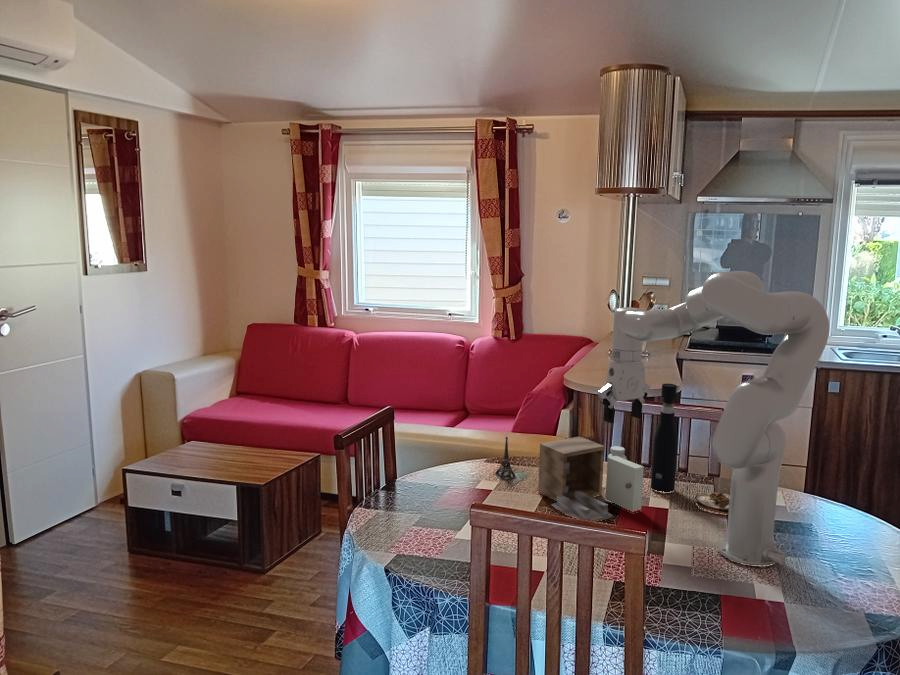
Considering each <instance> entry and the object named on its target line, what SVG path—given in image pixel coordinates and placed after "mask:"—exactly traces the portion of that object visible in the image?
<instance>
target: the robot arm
mask: <svg viewBox="0 0 900 675" xmlns="http://www.w3.org/2000/svg"><path fill="white" fill-rule="evenodd" d="M723 318H725V319H728V320H729V321H731V322H733V323H734V324H737V325H740V326H741V327H743V328H745V329H747V330H749V331H751V332H754V333H756V334H760V335H764V336H765V335H767V336H769V335H770V336H771V335H772V336H773V335H780V334H784V337H783V338H782V340H781V342H779V344H778V345H777V347H776V348H775V349H774V351H773V353H772V354H771V356H770V359H769V362H768V364H767V366H766V368H765V370H764V372H763V373H762V375H760V376H759V377H757V378H752V379H748V380H745V381H743V382H741V383H740V384H739V385H737V386H736V387H735V388H734V389H733V391H732V392H731V394H730V396H729V398H728V400H727V402H726V404H725V407H724V409H723V411H722V414H721V416H720V419H719V422H718V424H717V426H716V428H715V430H714V434H713V437H712V450H713V454H714V456H715V458H716V460H717V462H719V464H720V465H723V466H724V467H725V468H729V469H732V473H731V479H730V480H731V481H730V488H729V489H730V492H729V495H730V501H729V513H728V516H727V526H726V528H727V529H726V539H723V540H721V541H720V542H719V543H718V546H717V549H718V550H719V551H718V552H720V553H721V554H722V555H723V556H725V557H726V558H728V559H730V560H733V561H735V562H739V563H743V564H749V565H762V566H763V565H770V564H774V563H777V564H778V565H780V566H784V565H785V563H786V558H787V556H788V553H787V552H784V551H782V550H779V549H778V541H777V540H774V532H775V531H774V529H775V519H776V509H777V508H776V507H777V497H778V490H779V480H780V473H781V472H780V471H781V468H782V464H783V462H784V461H783V460H784V457H785V453H786V448H787V437H786V433H785V431H784V429H783V428H782V426H781V425H780V424H779V423H778V421H782V420H785V419H787V418H789V417H791V416H792V415H794V414H795V412H796V411H797V409H798V407H799V405H800V403H801V401H802V399H803V396H804V393H805V392H806V390H807V387H808V385H809V383H810V380H811V379H812V376H813V374H814V372H815V369H816V367H817V365H818V363H819V361H820V360H821V359H820V358H821V357H822V355H823V353H824V350H825V348H826V346H827V343H828V340H829V337H830V322H829V316H828V313H827V311H826V309H825V307H824V306H823V304H822V303H821V302H820V301H819V300H818V299H817V298H816V297H814V296H813V295H811V294H809V293H808V292H807V293H806V292H802V291H798V290H797V291H796V290H795V291H794V290H793V291H792V290H789V291H778V292H767V291H765V287H764V283H763V281H762V279H761V278H760V277H759V276H758V275H756V273H753V272H752V271H751V272H750V271H745V270H736V271H734V270H733V271H728V270H727V271H720V272H715V273H714V274H711V276H709V277H708V278H707V279H706V280H705V281H704V283H703V284H702V285H701V286H699V287H697V288H694V289H692V290H690V291H689V292H688V293H687V295H686V297H685V302H683V303H680V304H678V305H675V306H673V307H670V308H667V309H663V308H662V309H653V310H642V309H640V308H639V307H638V308H637V307H618V308H616V309H615V310H614V313H613V322H612V323H613V327H612V342H611V343H612V347H611V352H610V353H609V357H610V358H611V360H610V361H609V363H608V368H607V372H606V373H607V374H606V380H605V381H606V382H605V385H604V386H603V387H602V388H601V389H600V390H598V391H597V396H598V398H599V402H600V403H601V405H602V406H603V407H604V408H603V421H604V422H607V423H609V424H614V423H615V410H616V408H614V406H615V404H616V403H617V402H624V401H632V400H633V401H632V402H631V413H630V415H631V416H630V417H632V418H637V419H640V420H641V419H642V417H643V416H642V414H643V404H645V402H646V401H645V400H646V398H647V397H648V393H649V392H650V389H651V386H650V385H649V384H648V383H646V371H645V364H644V360H642V353H643V349H642V348H643V342H654V341H661V340H669V339H670V340H671V339H674V338H679V337H680V336H684V335H686V334H689V333H692V332H694V331H697V330H699V329H702V328H703V327H705V326H706V325H707V324H710V323H713V322H715V321H719V320H721V319H723ZM720 553H719V554H720ZM721 554H720V555H721ZM722 555H721V556H722ZM723 556H722V557H723ZM725 557H724V558H725ZM726 558H725V559H726ZM728 559H727V560H728ZM730 560H729V561H730Z"/></svg>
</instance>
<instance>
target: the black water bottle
mask: <svg viewBox="0 0 900 675" xmlns="http://www.w3.org/2000/svg"><path fill="white" fill-rule="evenodd" d="M677 387H678V386H677V384H675V383H674V384H673V383H662V385H661V394H660V395H661V397H662V398H663V400H662V401H663V402H662V403H663V404H662V406H661V409H660V410H661V411H660V412H659V413H660V414H659V422H658V425H657V427H656V429H655V433H654V436H653V445H652V446H653V448H652V459H651V460H652V461H651V462H652V463H651V474H650V475H651V476H650V489H651V488H652V489H654V490H657V491H662V492H663V491H664V492H670V491H673V490H674V491H675V488H676V486H675V485H676V471H677V458H678V456H677V455H678V444H679V441H678V434H677V428H676V425H675V412H674V409H675V407H674V406H675V405H674V399H675V398H677Z"/></svg>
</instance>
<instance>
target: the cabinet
mask: <svg viewBox="0 0 900 675" xmlns="http://www.w3.org/2000/svg"><path fill="white" fill-rule="evenodd" d="M604 459H605V445H604V444H603V445H602V444H601V443H597V442H595V441H593V440H590V439H588V438H584V437H582V436H574V437H569V438H563V439H558V440H551V441H547V442H541V443H539V463H538V465H539V466H538V488H537V489H538V492H539V493H538V492H537V493H538V494H540V493H541V494H540V495H542V494H543V495H545V496H547V497H549V498H551V499H553V500H555V501H557V502H555V501H554V503H551V506H553V507H555V508H557V509H559V510H561V511H562V512H564V513H566V514H568V515H570V516H573V517H574V518H578V519H583V520H591V521H597V520H603V519H607V518H611V517H612V518H613V514H611V513H610V512H608V511H609V507H608V506H609V504H608V503H606V502H603V501H601V500H600V499H597V498H596V497H594V496H597V495H603V480H604V479H603V478H604ZM543 495H542V496H543ZM545 496H544V497H545ZM547 497H546V498H547ZM593 497H594V498H593ZM549 498H548V499H549ZM551 499H550V500H551ZM553 500H552V501H553Z"/></svg>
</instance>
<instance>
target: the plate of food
mask: <svg viewBox="0 0 900 675" xmlns="http://www.w3.org/2000/svg"><path fill="white" fill-rule="evenodd" d="M694 500H695V501H696V503H697V504H698V506H699V507H700V508H703V509H706V510H710V511H714V512H719V513H724V514H728V513H729V501H730V494H728V493H723V492H720V491H714V492H701V493H697V495H695V497H694ZM696 503H695V504H696Z"/></svg>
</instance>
